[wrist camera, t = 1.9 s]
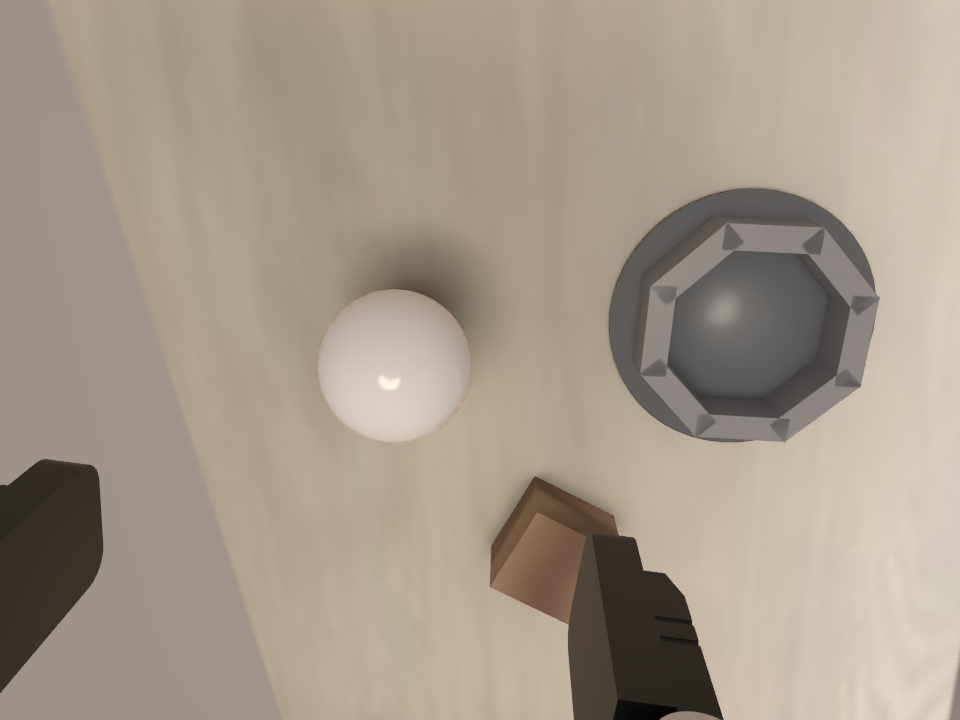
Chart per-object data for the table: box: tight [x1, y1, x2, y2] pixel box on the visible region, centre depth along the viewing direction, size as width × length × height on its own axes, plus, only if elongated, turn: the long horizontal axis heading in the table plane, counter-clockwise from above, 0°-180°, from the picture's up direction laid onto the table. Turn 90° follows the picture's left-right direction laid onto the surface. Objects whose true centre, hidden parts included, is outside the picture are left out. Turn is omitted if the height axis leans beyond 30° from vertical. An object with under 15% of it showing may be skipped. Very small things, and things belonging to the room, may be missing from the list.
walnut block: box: [490, 477, 619, 624], centre depth 41 cm, size 5×5×4 cm
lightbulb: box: [317, 289, 472, 443], centre depth 34 cm, size 6×6×11 cm
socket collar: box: [609, 189, 880, 442], centre depth 37 cm, size 13×13×3 cm
